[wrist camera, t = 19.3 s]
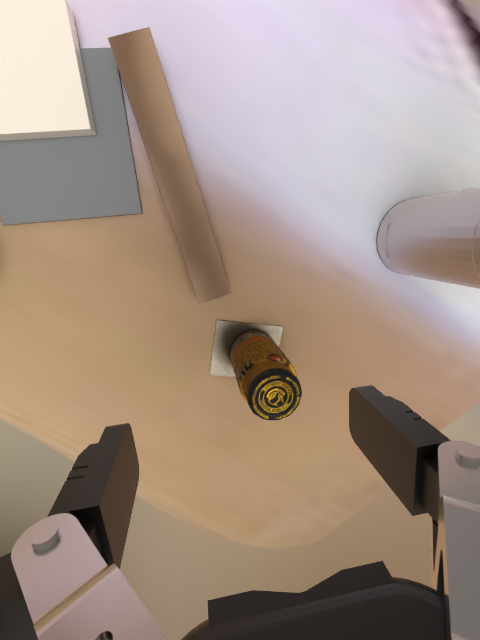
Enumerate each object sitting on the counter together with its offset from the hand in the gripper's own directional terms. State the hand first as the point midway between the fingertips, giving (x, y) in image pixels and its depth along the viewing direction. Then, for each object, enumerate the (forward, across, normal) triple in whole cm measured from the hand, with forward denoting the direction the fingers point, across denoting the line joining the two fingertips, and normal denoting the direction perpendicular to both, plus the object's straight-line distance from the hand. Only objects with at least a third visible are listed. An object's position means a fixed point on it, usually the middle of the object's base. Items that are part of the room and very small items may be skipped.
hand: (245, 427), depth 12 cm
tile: (+26, +14, -17) cm, 35 cm away
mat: (+28, +13, -17) cm, 35 cm away
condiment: (+28, -4, +8) cm, 30 cm away
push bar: (+28, +2, -12) cm, 31 cm away
